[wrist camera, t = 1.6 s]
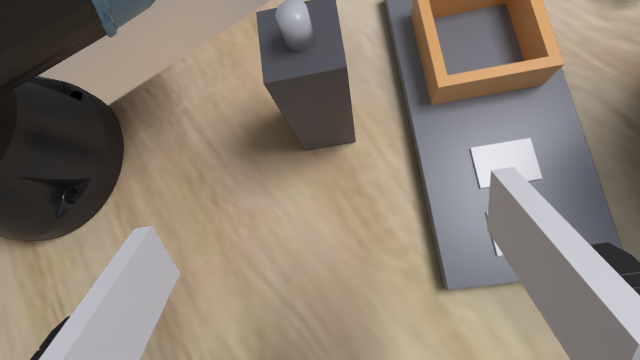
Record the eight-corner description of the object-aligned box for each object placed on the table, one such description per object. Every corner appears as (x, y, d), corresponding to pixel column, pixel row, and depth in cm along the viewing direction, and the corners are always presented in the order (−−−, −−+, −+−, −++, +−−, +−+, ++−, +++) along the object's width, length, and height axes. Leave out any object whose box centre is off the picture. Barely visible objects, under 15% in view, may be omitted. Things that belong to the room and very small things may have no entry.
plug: (304, 150, 30) (250, 63, 16) (298, 104, 31) (243, -16, 17) (355, 141, 29) (344, 43, 16) (347, 94, 30) (330, -36, 17)
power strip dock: (443, 288, 26) (459, 295, 21) (383, 1, 32) (386, -40, 27) (613, 267, 24) (666, 269, 20) (517, -28, 30) (541, -75, 26)
